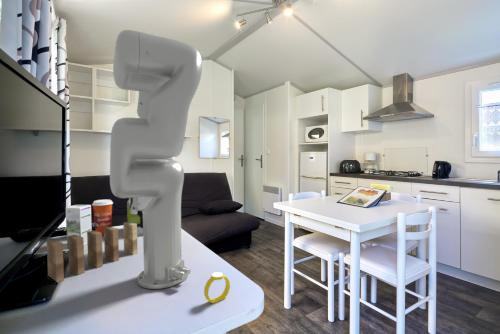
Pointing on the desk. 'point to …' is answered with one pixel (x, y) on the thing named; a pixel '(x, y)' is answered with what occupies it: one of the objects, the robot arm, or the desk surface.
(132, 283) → the desk surface
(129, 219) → the tea box
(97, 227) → the paper cup
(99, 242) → the tile
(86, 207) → the syrup box
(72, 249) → the tile
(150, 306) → the desk surface
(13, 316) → the desk surface
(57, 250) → the wooden domino block
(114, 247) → the tile
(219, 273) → the gold ring
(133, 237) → the tile
